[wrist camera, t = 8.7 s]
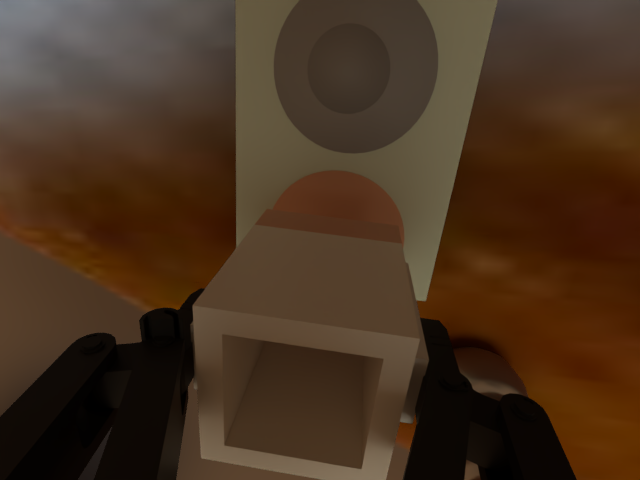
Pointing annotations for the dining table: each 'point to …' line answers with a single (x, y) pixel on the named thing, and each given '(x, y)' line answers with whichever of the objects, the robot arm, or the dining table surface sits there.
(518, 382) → the plastic bottle
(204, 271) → the dining table surface
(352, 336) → the sleeve
